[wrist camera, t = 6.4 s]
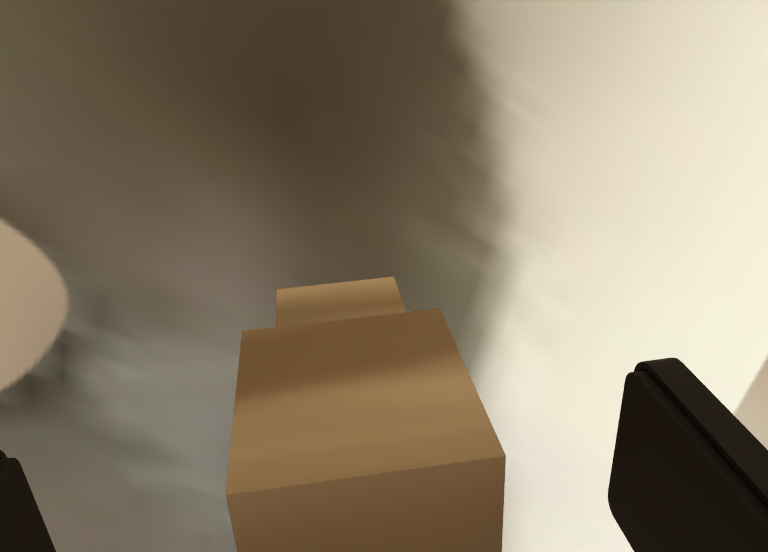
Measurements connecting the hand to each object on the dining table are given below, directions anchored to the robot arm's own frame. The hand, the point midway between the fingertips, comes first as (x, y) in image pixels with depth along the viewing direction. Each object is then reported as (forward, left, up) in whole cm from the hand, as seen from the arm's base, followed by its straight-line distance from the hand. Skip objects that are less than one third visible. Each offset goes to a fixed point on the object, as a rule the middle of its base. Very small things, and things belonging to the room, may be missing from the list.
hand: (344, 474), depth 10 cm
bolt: (+5, 0, -4) cm, 6 cm away
